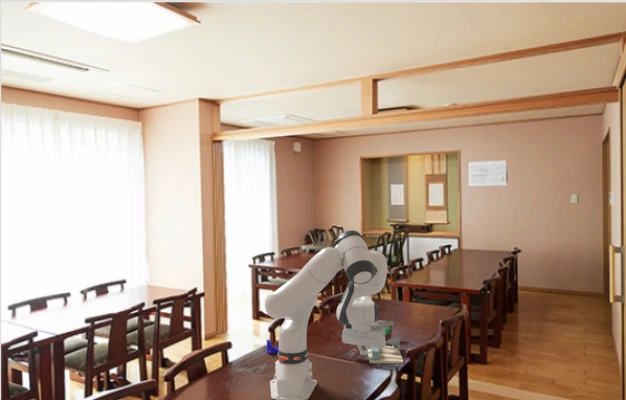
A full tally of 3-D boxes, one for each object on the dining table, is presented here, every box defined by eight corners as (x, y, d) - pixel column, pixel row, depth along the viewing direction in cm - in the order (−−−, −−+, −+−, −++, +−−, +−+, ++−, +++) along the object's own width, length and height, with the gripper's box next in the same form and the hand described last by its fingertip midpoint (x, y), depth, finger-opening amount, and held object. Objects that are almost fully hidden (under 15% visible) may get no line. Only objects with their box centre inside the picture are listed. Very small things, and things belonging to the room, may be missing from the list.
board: (403, 363, 196) (403, 351, 196) (369, 363, 197) (369, 351, 197) (397, 347, 216) (397, 337, 216) (366, 347, 217) (366, 337, 217)
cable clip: (289, 348, 219) (289, 336, 219) (292, 351, 215) (291, 338, 215) (266, 351, 216) (265, 338, 216) (267, 354, 212) (267, 341, 211)
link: (368, 346, 216) (368, 340, 215) (377, 346, 215) (377, 340, 215) (371, 359, 198) (371, 353, 198) (381, 359, 198) (381, 353, 198)
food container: (367, 340, 229) (367, 320, 229) (371, 336, 234) (371, 317, 234) (390, 343, 223) (390, 323, 223) (394, 339, 229) (393, 320, 229)
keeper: (384, 354, 207) (384, 342, 207) (393, 347, 216) (393, 336, 216) (392, 356, 205) (392, 344, 205) (401, 349, 214) (401, 337, 214)
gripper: (387, 325, 200) (387, 355, 200) (345, 320, 209) (346, 349, 209) (383, 329, 194) (383, 360, 194) (340, 324, 203) (340, 354, 203)
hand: (363, 354), depth 201 cm, fingers closed
